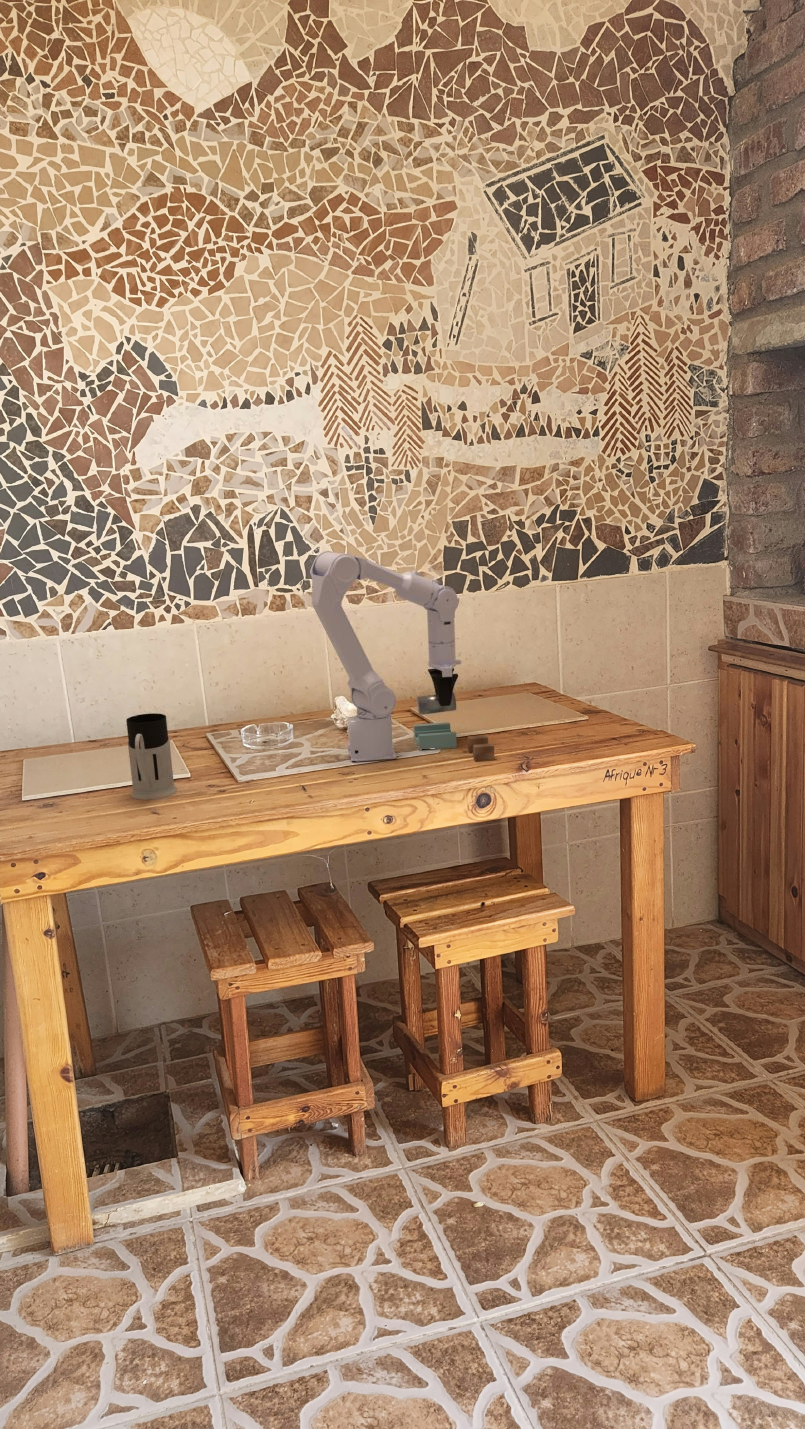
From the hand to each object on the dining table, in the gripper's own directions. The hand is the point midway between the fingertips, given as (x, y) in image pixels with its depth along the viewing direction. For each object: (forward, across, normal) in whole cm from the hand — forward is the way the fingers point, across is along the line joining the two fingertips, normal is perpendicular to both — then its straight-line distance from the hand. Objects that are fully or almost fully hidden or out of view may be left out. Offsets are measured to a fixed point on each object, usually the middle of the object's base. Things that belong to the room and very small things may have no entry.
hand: (443, 703), depth 235 cm
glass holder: (+9, -24, +61) cm, 66 cm away
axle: (+2, 0, +2) cm, 3 cm away
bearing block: (+9, -12, -6) cm, 16 cm away
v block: (+9, 0, +2) cm, 9 cm away
